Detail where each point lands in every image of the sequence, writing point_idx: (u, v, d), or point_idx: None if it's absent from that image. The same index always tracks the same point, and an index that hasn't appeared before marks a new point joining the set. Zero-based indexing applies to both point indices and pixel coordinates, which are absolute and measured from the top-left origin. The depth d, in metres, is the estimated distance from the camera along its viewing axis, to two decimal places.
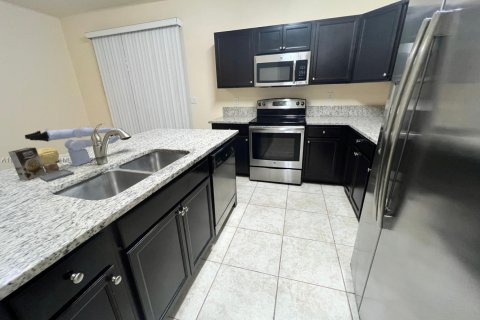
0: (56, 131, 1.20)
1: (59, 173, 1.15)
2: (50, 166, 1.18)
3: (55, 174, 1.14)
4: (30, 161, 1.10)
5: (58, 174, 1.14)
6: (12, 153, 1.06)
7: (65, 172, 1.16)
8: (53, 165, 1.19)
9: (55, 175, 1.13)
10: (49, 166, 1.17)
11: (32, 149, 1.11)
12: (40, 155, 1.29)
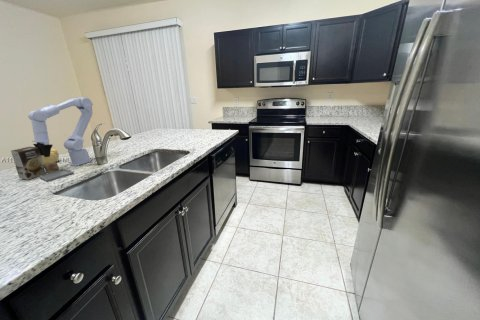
0: (36, 134, 1.12)
1: (59, 173, 1.15)
2: (50, 166, 1.18)
3: (55, 174, 1.14)
4: (32, 161, 1.10)
5: (58, 174, 1.14)
6: (15, 152, 1.05)
7: (65, 172, 1.16)
8: (53, 165, 1.19)
9: (55, 175, 1.13)
10: (49, 166, 1.17)
11: (35, 149, 1.11)
12: None
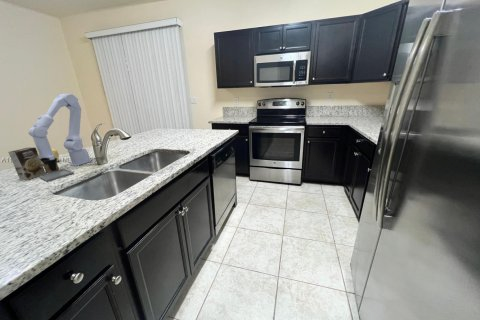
0: (40, 150, 1.14)
1: (59, 173, 1.15)
2: None
3: (55, 174, 1.14)
4: (30, 161, 1.10)
5: (58, 174, 1.14)
6: (12, 153, 1.06)
7: (65, 172, 1.16)
8: None
9: (55, 175, 1.13)
10: None
11: (32, 149, 1.11)
12: None
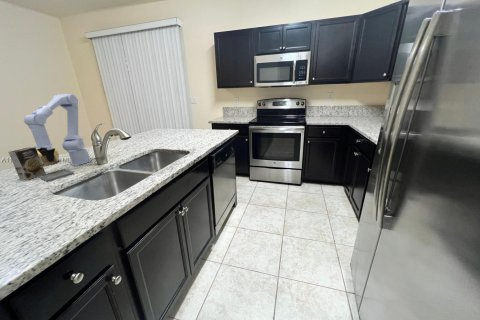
0: (37, 140, 1.07)
1: (59, 173, 1.15)
2: None
3: (55, 174, 1.14)
4: (30, 161, 1.10)
5: (58, 174, 1.14)
6: (12, 153, 1.06)
7: (65, 172, 1.16)
8: None
9: (55, 175, 1.13)
10: (46, 158, 1.10)
11: (32, 149, 1.11)
12: (40, 155, 1.29)
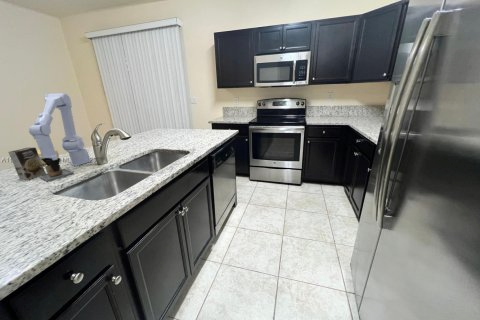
0: (42, 150, 1.06)
1: None
2: None
3: None
4: (30, 161, 1.10)
5: (58, 174, 1.14)
6: (12, 153, 1.06)
7: (65, 172, 1.16)
8: None
9: (55, 175, 1.13)
10: (51, 168, 1.10)
11: (32, 149, 1.11)
12: (40, 155, 1.29)
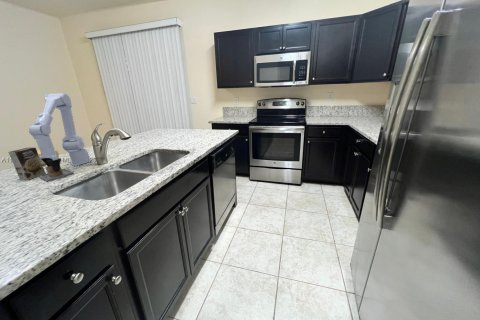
0: (42, 150, 1.06)
1: None
2: None
3: None
4: (30, 161, 1.10)
5: None
6: (12, 153, 1.06)
7: (65, 172, 1.16)
8: None
9: None
10: (52, 169, 1.10)
11: (32, 149, 1.11)
12: (40, 155, 1.29)
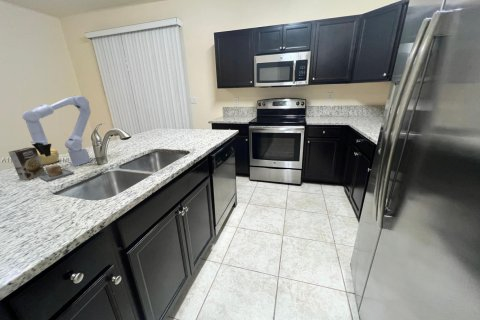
0: (33, 135, 1.12)
1: None
2: (53, 169, 1.10)
3: None
4: (30, 161, 1.10)
5: None
6: (12, 153, 1.06)
7: (65, 172, 1.16)
8: (56, 168, 1.11)
9: None
10: (52, 169, 1.10)
11: (32, 149, 1.11)
12: (40, 155, 1.29)
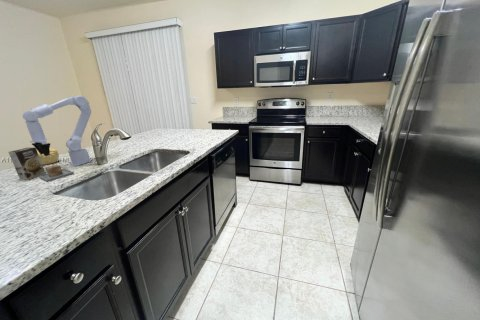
0: (33, 135, 1.14)
1: None
2: (53, 169, 1.10)
3: None
4: (30, 161, 1.10)
5: None
6: (12, 153, 1.06)
7: (65, 172, 1.16)
8: (56, 168, 1.11)
9: None
10: (52, 169, 1.10)
11: (32, 149, 1.11)
12: (40, 155, 1.29)
